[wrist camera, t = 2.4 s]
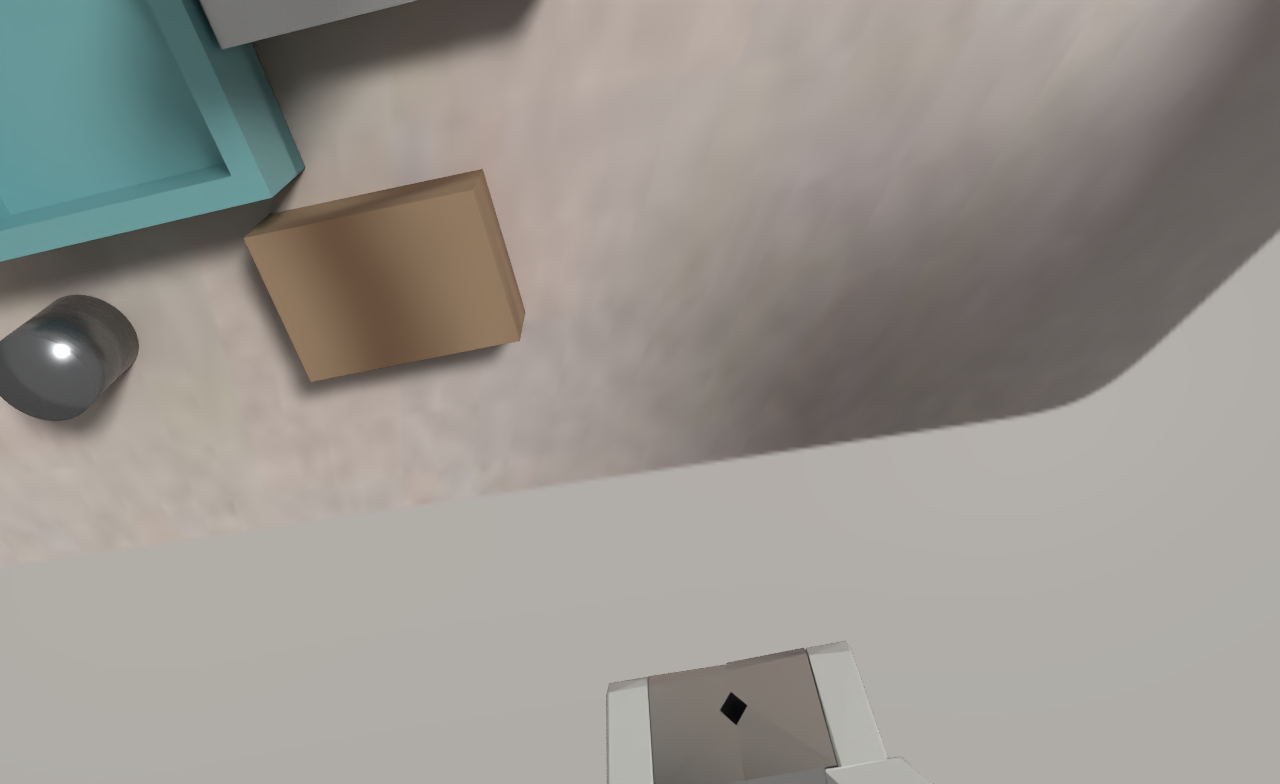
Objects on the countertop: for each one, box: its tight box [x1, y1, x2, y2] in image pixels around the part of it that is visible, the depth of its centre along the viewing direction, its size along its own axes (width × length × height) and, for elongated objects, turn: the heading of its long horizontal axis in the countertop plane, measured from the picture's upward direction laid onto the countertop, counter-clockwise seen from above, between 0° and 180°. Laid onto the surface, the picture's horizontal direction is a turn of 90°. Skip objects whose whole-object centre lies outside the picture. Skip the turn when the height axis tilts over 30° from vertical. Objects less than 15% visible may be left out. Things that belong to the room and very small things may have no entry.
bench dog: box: [0, 295, 139, 421], centre depth 27 cm, size 3×3×3 cm
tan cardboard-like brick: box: [244, 169, 525, 382], centre depth 27 cm, size 7×5×2 cm
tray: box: [0, 0, 305, 262], centre depth 22 cm, size 10×10×3 cm
